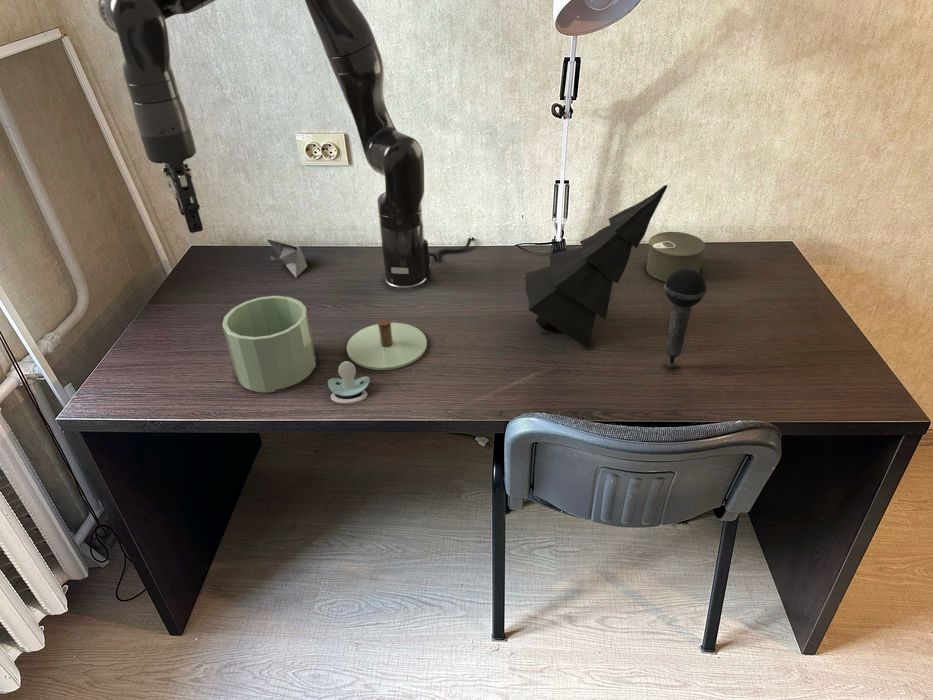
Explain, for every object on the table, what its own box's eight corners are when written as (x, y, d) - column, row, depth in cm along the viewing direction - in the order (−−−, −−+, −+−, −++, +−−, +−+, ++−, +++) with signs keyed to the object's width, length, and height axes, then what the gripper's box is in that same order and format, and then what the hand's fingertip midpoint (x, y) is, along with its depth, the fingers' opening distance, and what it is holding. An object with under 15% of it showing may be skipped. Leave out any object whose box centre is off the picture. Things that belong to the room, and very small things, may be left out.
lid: (403, 319, 138) (401, 293, 135) (441, 354, 128) (440, 327, 124) (334, 343, 132) (330, 316, 128) (368, 382, 121) (364, 354, 117)
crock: (299, 338, 133) (289, 288, 127) (328, 374, 123) (318, 321, 117) (227, 362, 127) (213, 311, 121) (251, 402, 117) (236, 348, 111)
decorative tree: (576, 363, 130) (708, 225, 113) (514, 326, 125) (643, 177, 108) (568, 322, 142) (687, 192, 125) (511, 287, 137) (627, 147, 120)
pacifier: (369, 405, 116) (371, 383, 121) (365, 377, 112) (367, 355, 117) (326, 407, 116) (331, 385, 121) (321, 379, 112) (325, 357, 117)
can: (710, 279, 149) (716, 251, 145) (660, 286, 147) (664, 258, 143) (683, 255, 158) (688, 228, 154) (636, 262, 156) (640, 235, 152)
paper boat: (321, 263, 157) (292, 269, 150) (310, 281, 161) (281, 288, 154) (292, 226, 160) (261, 230, 152) (281, 245, 163) (251, 250, 156)
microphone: (683, 383, 118) (703, 284, 107) (645, 372, 121) (661, 274, 110) (694, 363, 123) (715, 266, 112) (658, 353, 126) (674, 257, 115)
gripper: (197, 134, 102) (223, 232, 111) (181, 112, 112) (206, 203, 122) (144, 143, 99) (176, 243, 109) (133, 120, 110) (163, 213, 119)
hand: (192, 222), depth 115 cm, fingers open, 8 cm apart
